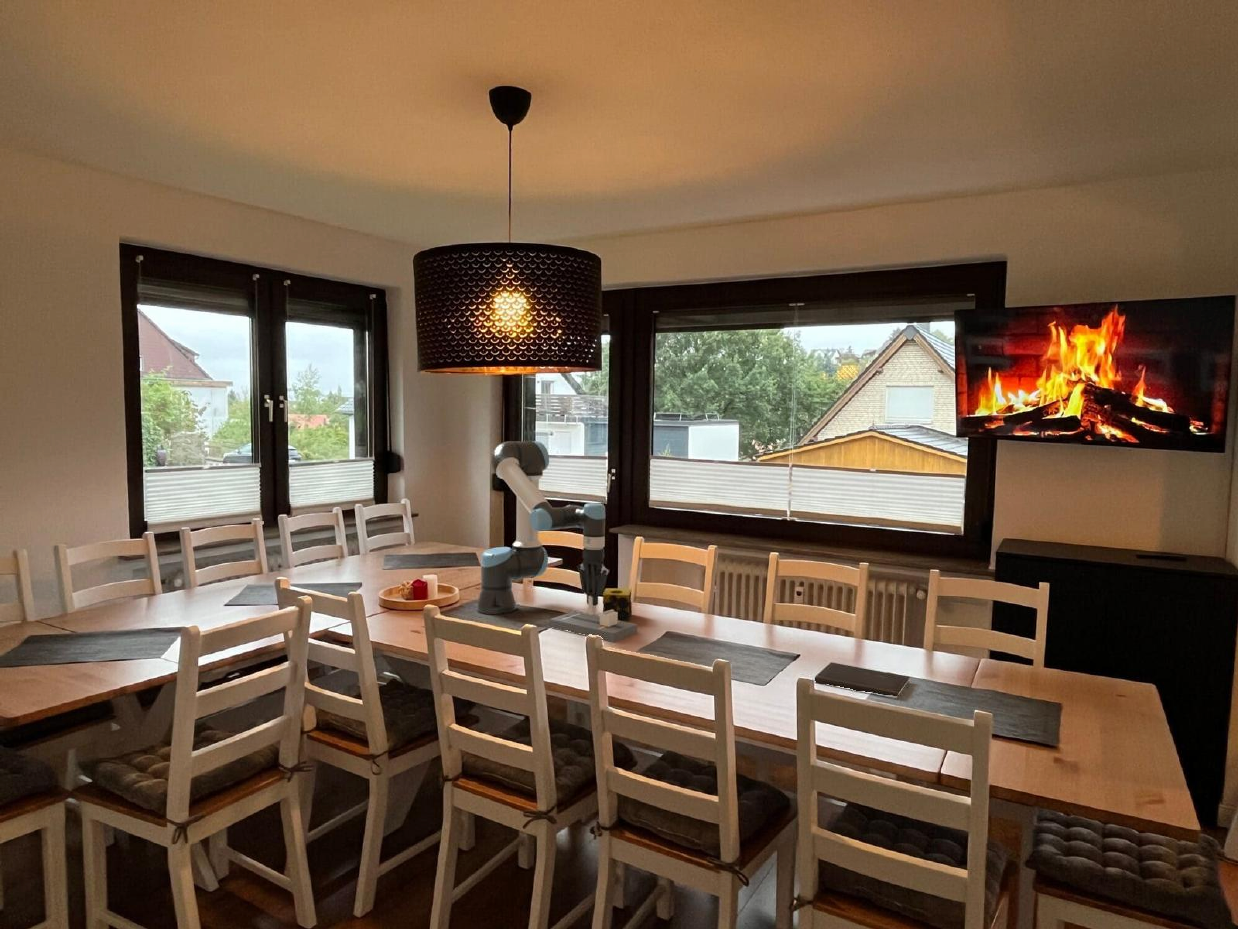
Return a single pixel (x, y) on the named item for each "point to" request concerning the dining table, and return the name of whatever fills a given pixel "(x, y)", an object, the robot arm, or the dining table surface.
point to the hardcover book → (861, 679)
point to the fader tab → (608, 618)
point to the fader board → (593, 626)
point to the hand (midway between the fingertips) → (592, 613)
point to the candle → (618, 602)
